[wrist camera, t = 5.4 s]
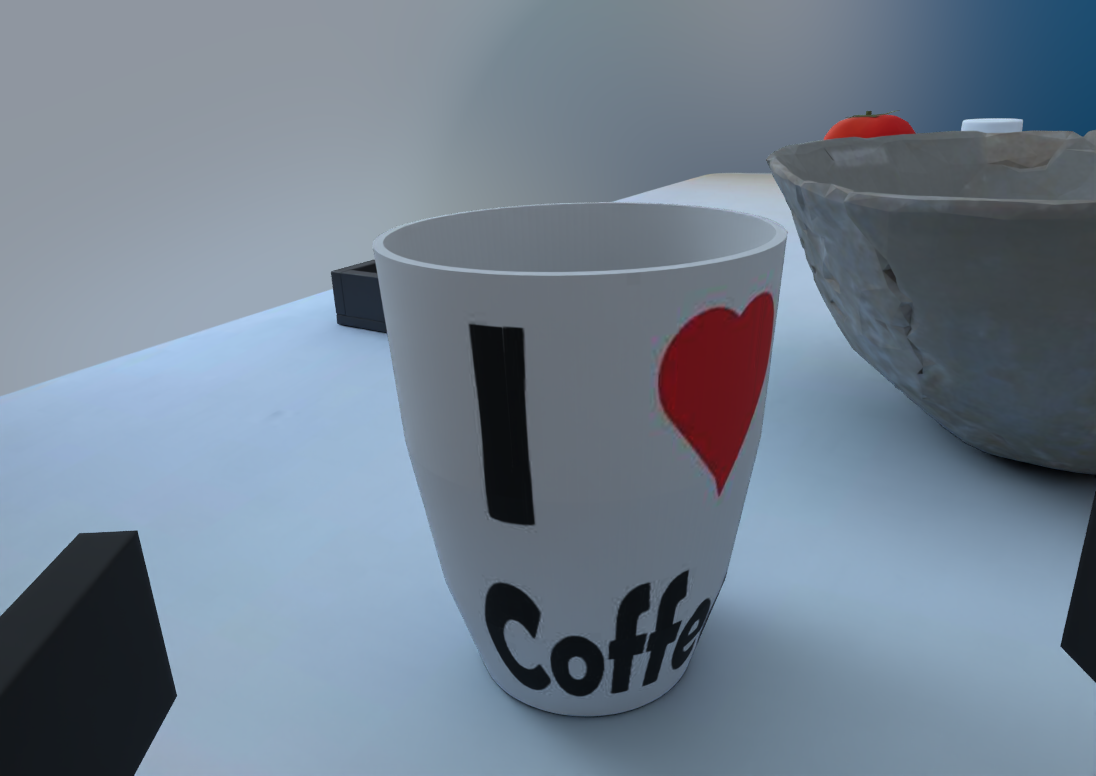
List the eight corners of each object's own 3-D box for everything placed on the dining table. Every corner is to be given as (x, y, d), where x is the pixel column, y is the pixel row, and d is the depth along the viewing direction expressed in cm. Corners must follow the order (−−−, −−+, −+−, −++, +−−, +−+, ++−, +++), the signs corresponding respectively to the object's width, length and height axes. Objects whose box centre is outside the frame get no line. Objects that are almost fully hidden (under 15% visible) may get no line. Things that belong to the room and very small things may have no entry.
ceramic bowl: (633, 437, 31) (634, 166, 28) (899, 310, 46) (922, 124, 42) (1500, 743, 16) (1743, 235, 13) (1480, 408, 31) (1589, 132, 27)
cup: (427, 805, 16) (370, 291, 12) (411, 571, 23) (373, 212, 20) (821, 733, 17) (874, 253, 13) (686, 535, 24) (697, 193, 21)
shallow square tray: (337, 324, 47) (330, 271, 46) (474, 276, 58) (471, 232, 56) (525, 357, 41) (523, 295, 39) (643, 296, 51) (644, 246, 50)
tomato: (931, 191, 89) (941, 109, 86) (862, 200, 84) (871, 114, 81) (863, 183, 96) (871, 108, 93) (797, 191, 92) (803, 112, 89)
